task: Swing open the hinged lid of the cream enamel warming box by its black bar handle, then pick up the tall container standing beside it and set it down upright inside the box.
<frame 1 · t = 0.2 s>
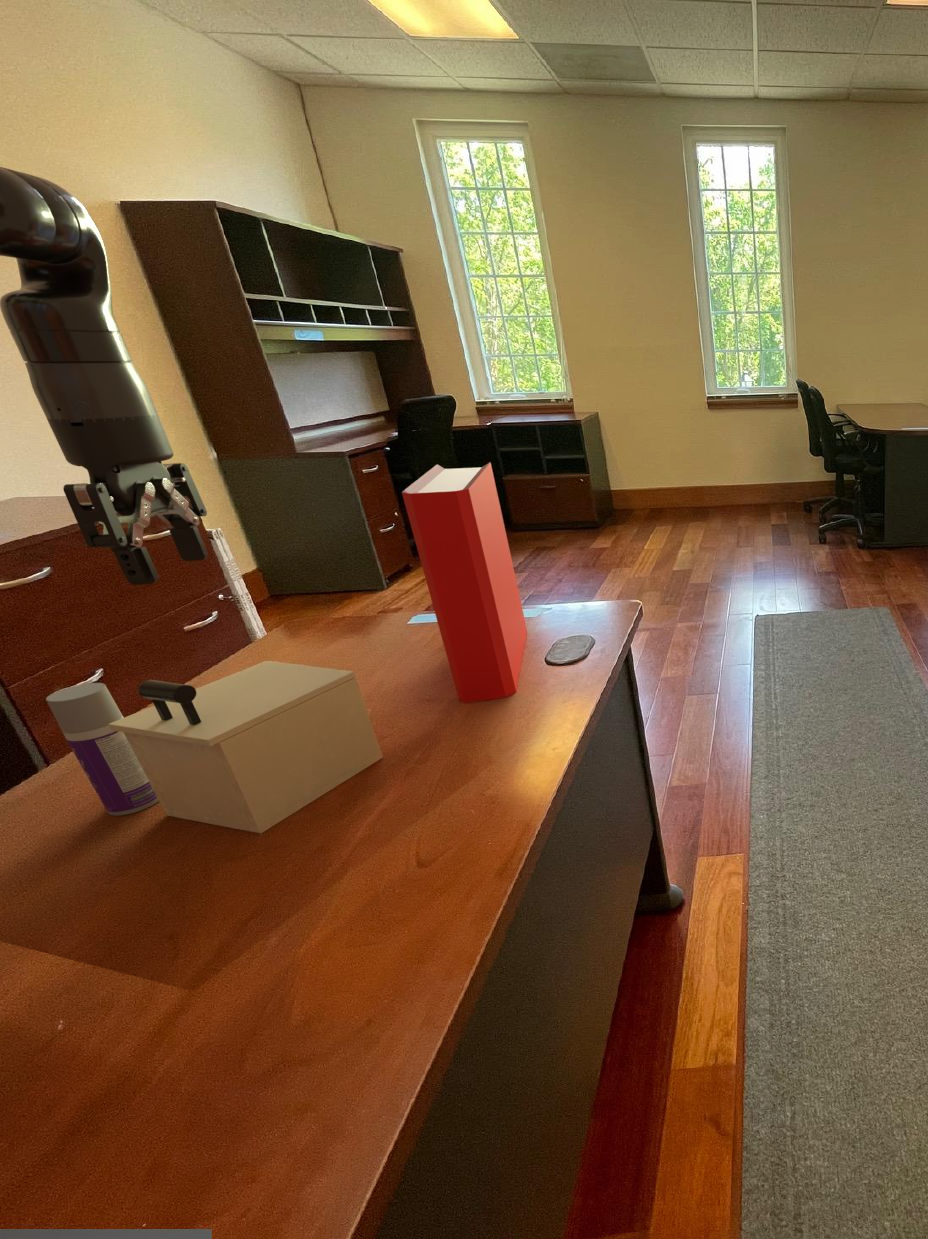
hand: (172, 571, 72), 28 cm above the table, tool pointing down, fingers open, 8 cm apart
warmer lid: (234, 681, 76), point 15 cm above the table, hinge at 0.0°
book: (496, 665, 115), on the table
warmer: (282, 784, 83), on the table
container: (137, 804, 79), on the table
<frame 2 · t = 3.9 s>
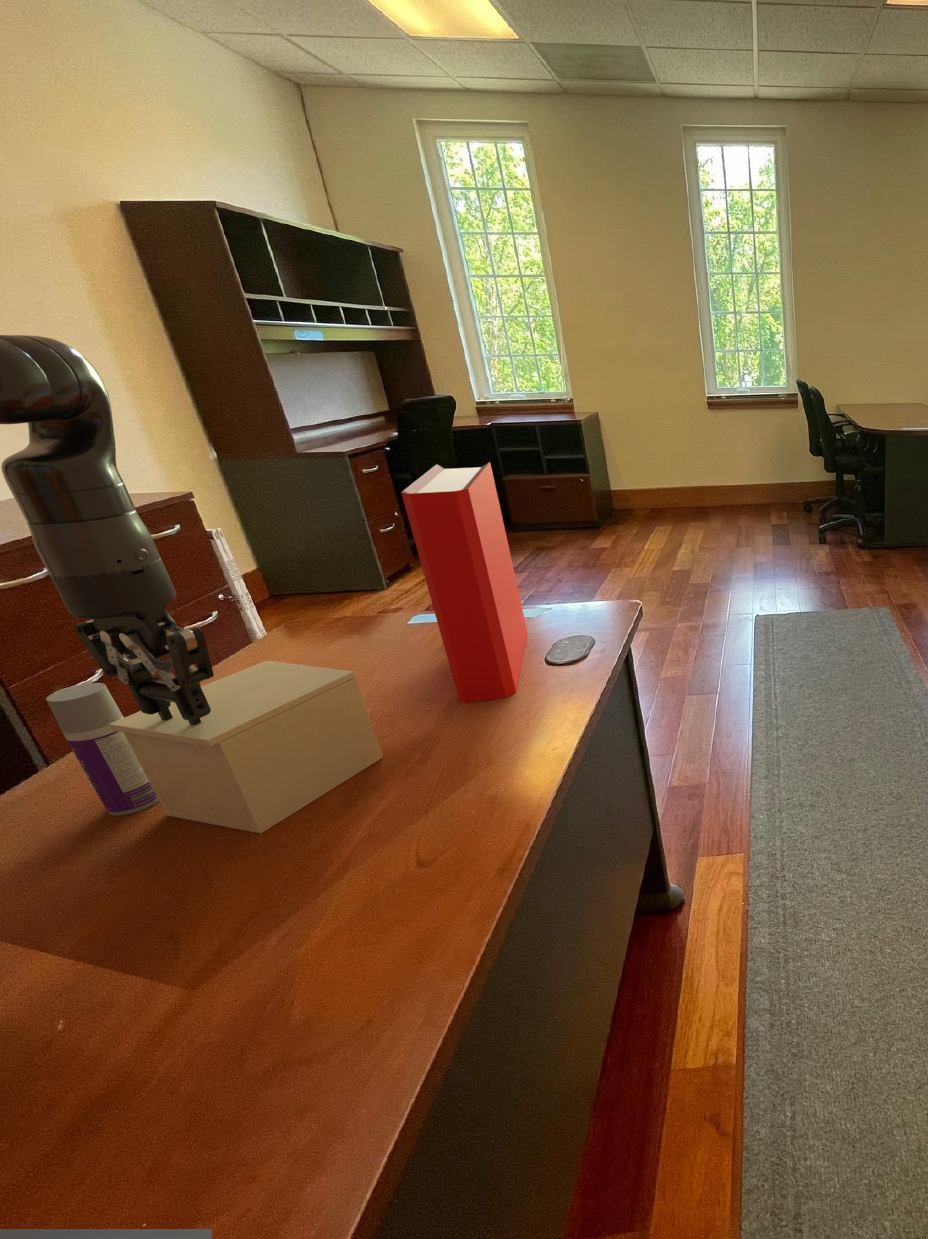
hand: (178, 713, 71), 14 cm above the table, tool pointing down, fingers closed on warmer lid, 5 cm apart
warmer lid: (234, 681, 76), point 15 cm above the table, hinge at 0.0°, touching gripper
everything else where it was.
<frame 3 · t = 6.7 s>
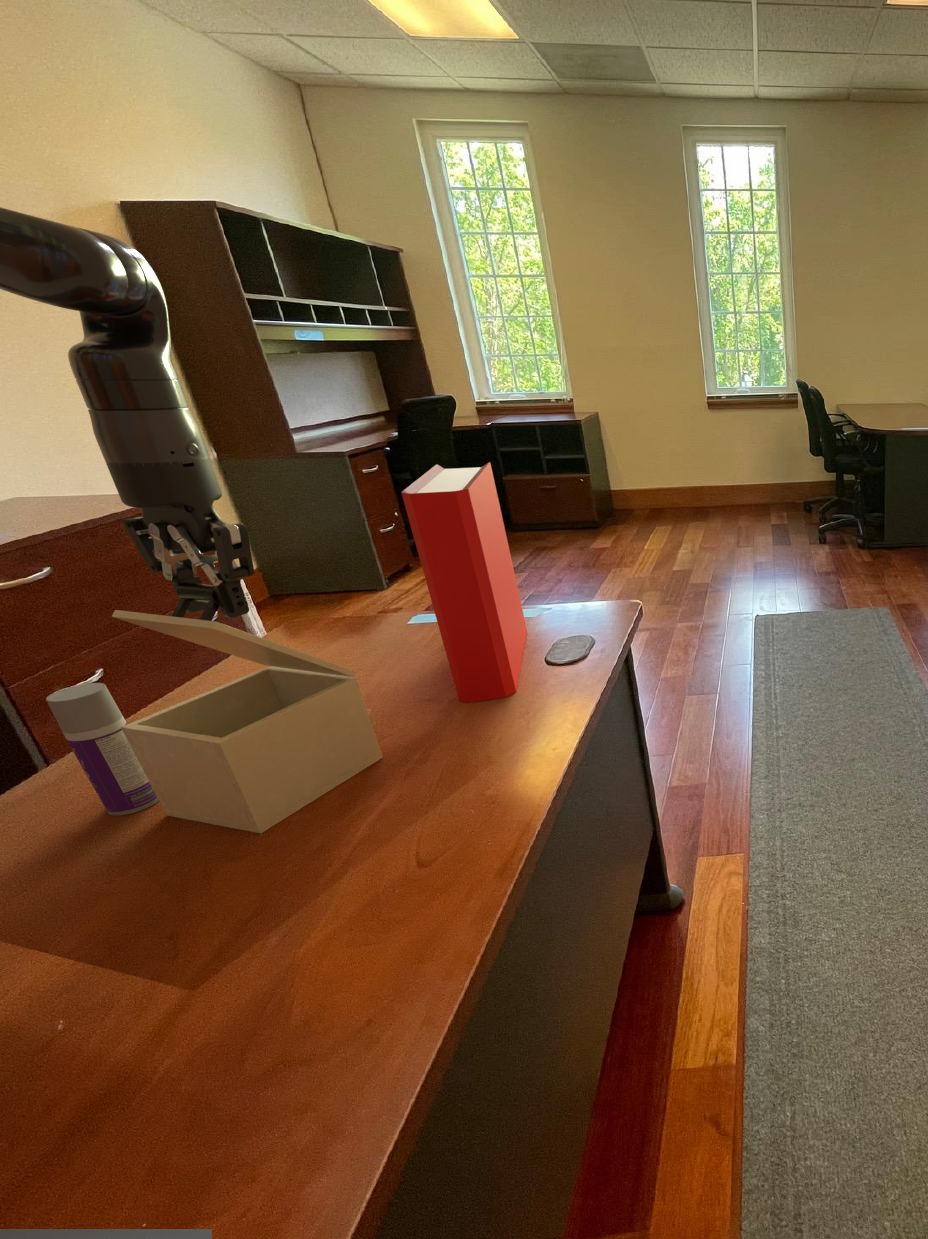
hand: (217, 612, 74), 23 cm above the table, tool pointing down, fingers closed on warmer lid, 5 cm apart
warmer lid: (252, 627, 78), point 20 cm above the table, hinge at 43.5°, touching gripper
everything else where it was.
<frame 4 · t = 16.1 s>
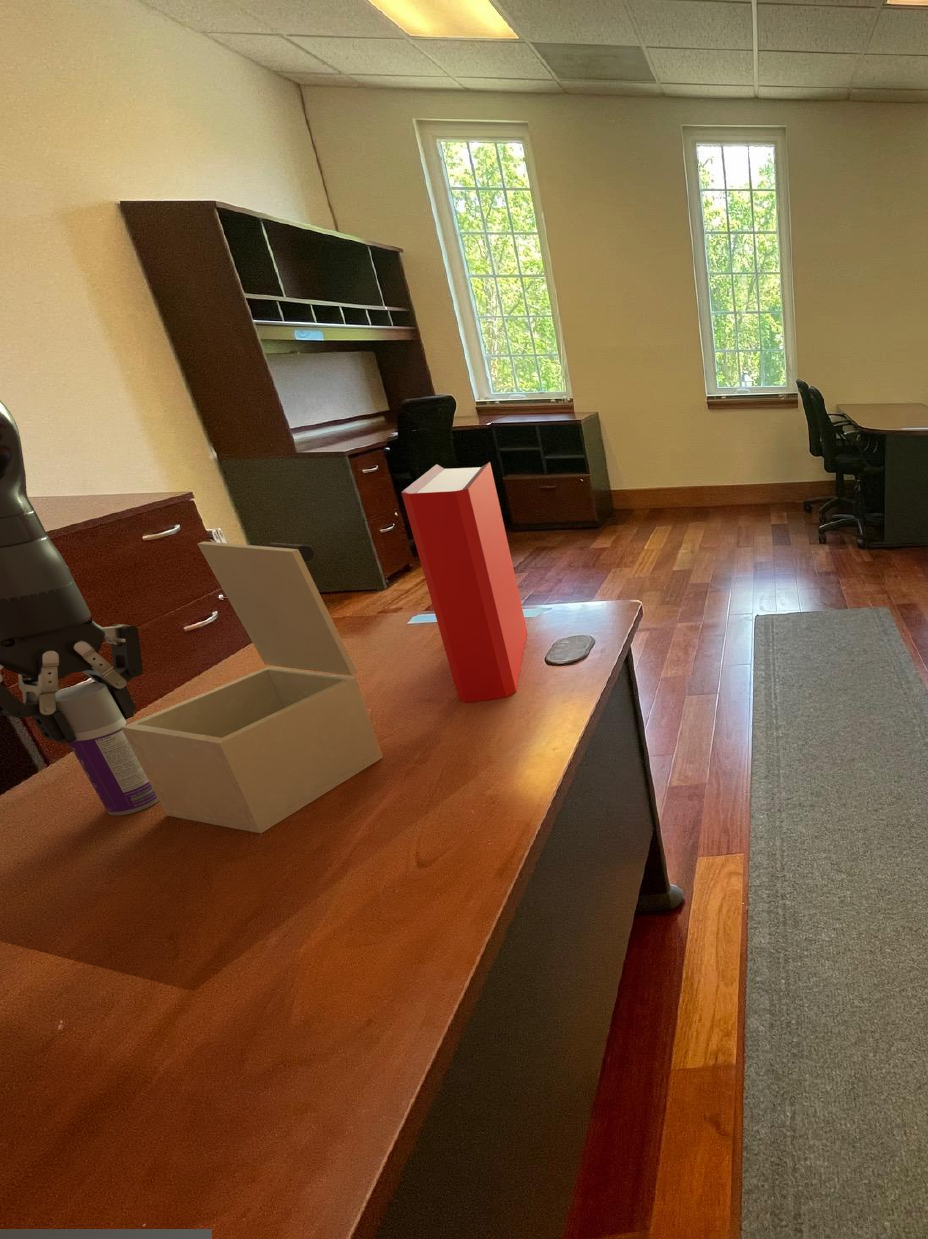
hand: (95, 728, 75), 10 cm above the table, tool pointing down, fingers closed on container, 4 cm apart
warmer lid: (298, 602, 82), point 21 cm above the table, hinge at 83.5°
container: (136, 804, 79), on the table, touching gripper
everything else where it was.
when the fingers open (11 cm above the table, at t = 23.4 s): container stays where it is, resting on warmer.
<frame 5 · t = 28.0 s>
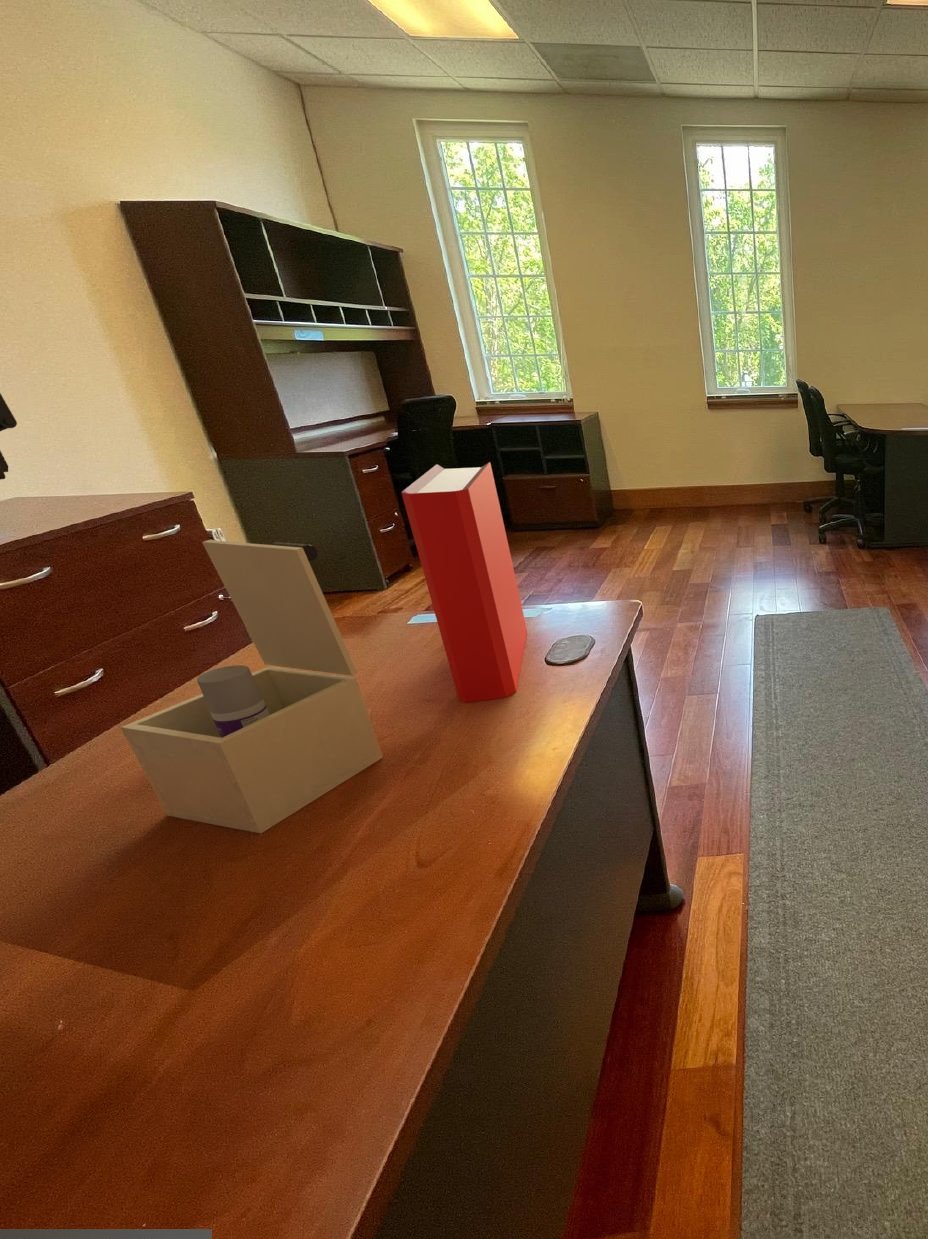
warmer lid: (300, 601, 83), point 21 cm above the table, hinge at 85.4°
container: (271, 784, 81), point 1 cm above the table, touching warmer
everything else where it was.
at the end: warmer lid at +85° (first picture: +0°); container inside the target area in the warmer (1.0 cm from its centre), point 0.7 cm above the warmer's base; container tilted 0° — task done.
